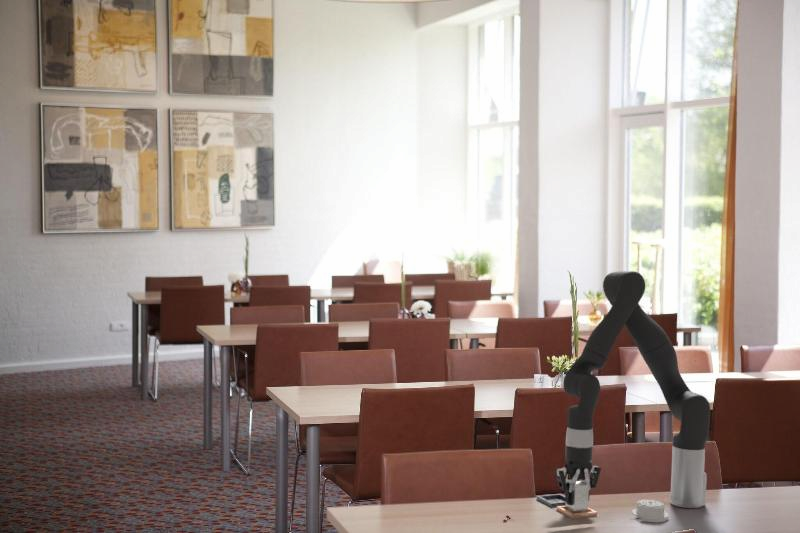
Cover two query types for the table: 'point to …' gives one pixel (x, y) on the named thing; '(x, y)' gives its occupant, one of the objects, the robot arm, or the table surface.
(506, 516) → the pencil
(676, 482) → the robot arm
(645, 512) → the mechanical component
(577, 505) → the block
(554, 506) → the double frame tray
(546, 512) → the table surface
